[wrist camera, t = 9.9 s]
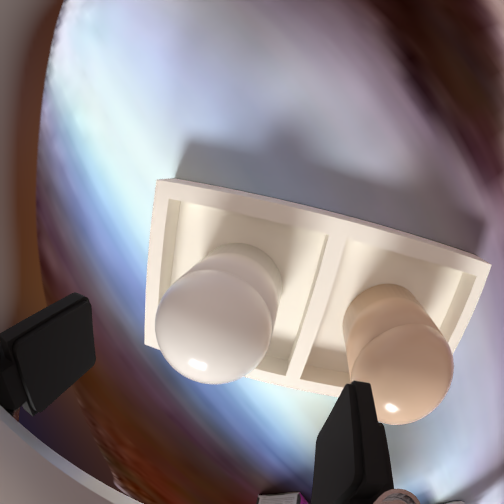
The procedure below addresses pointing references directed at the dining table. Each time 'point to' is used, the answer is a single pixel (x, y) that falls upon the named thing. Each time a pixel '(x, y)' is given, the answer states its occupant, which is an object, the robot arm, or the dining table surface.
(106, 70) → the dining table surface
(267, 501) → the candy bar box
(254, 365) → the white egg
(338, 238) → the caddy
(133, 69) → the dining table surface
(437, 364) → the brown egg
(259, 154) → the dining table surface
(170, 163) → the dining table surface
